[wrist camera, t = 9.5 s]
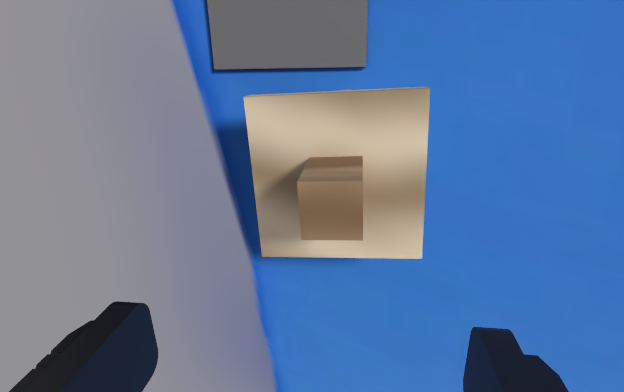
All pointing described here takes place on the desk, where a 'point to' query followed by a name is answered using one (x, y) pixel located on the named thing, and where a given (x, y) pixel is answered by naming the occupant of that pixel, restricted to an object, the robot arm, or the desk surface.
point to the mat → (288, 33)
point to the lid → (340, 172)
